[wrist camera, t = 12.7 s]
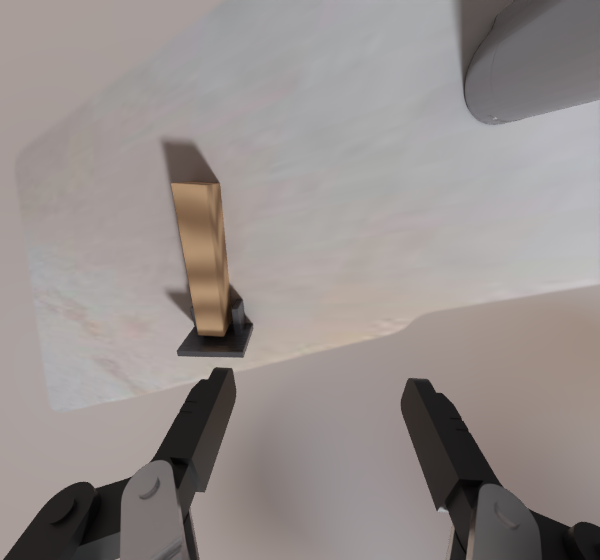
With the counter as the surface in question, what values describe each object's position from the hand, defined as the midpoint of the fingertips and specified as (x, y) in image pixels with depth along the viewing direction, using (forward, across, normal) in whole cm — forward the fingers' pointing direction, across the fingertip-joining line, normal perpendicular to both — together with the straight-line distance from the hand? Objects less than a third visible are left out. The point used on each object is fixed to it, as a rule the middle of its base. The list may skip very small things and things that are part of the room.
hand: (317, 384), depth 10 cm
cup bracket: (+24, +15, +14) cm, 32 cm away
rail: (+25, +15, +4) cm, 29 cm away
